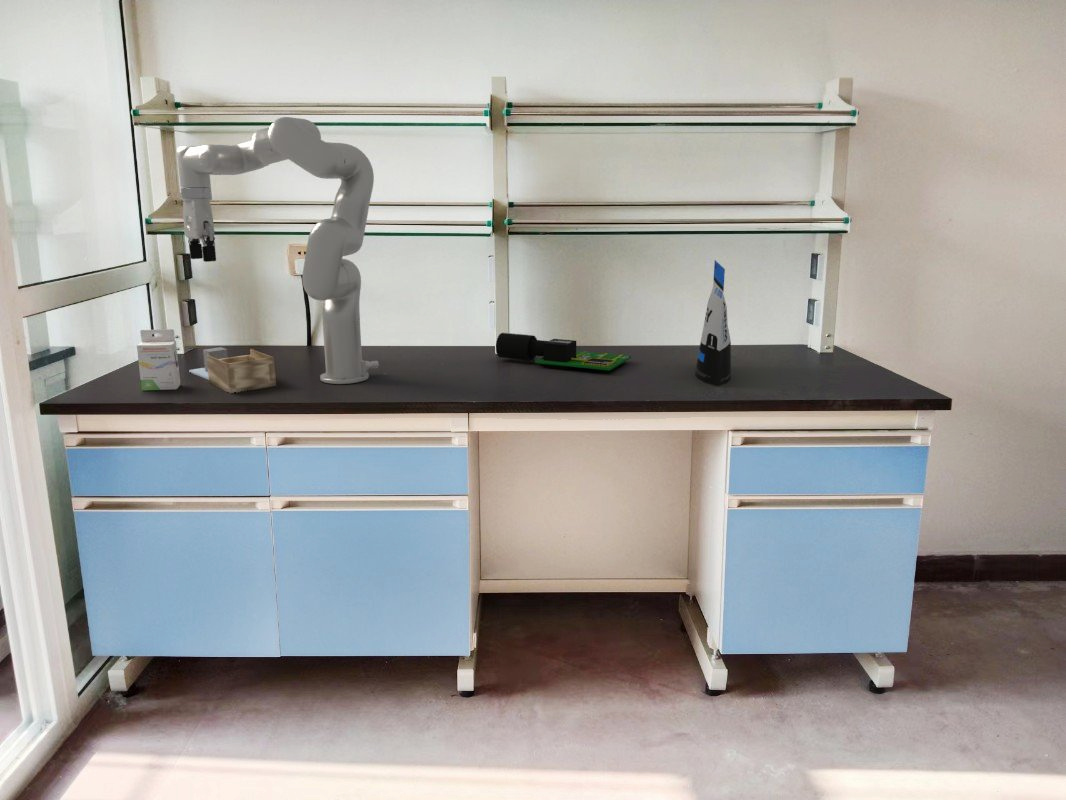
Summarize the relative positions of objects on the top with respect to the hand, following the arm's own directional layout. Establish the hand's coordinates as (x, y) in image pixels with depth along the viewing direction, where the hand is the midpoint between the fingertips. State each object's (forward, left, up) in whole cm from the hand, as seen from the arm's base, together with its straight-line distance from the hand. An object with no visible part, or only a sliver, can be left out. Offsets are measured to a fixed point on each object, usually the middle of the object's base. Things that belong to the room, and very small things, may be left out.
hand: (203, 260), depth 223 cm
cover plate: (+1, +5, -31) cm, 31 cm away
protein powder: (-99, +96, -31) cm, 141 cm away
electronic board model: (-79, +58, -31) cm, 103 cm away
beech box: (+1, +22, -30) cm, 37 cm away
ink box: (+18, +12, -31) cm, 37 cm away
